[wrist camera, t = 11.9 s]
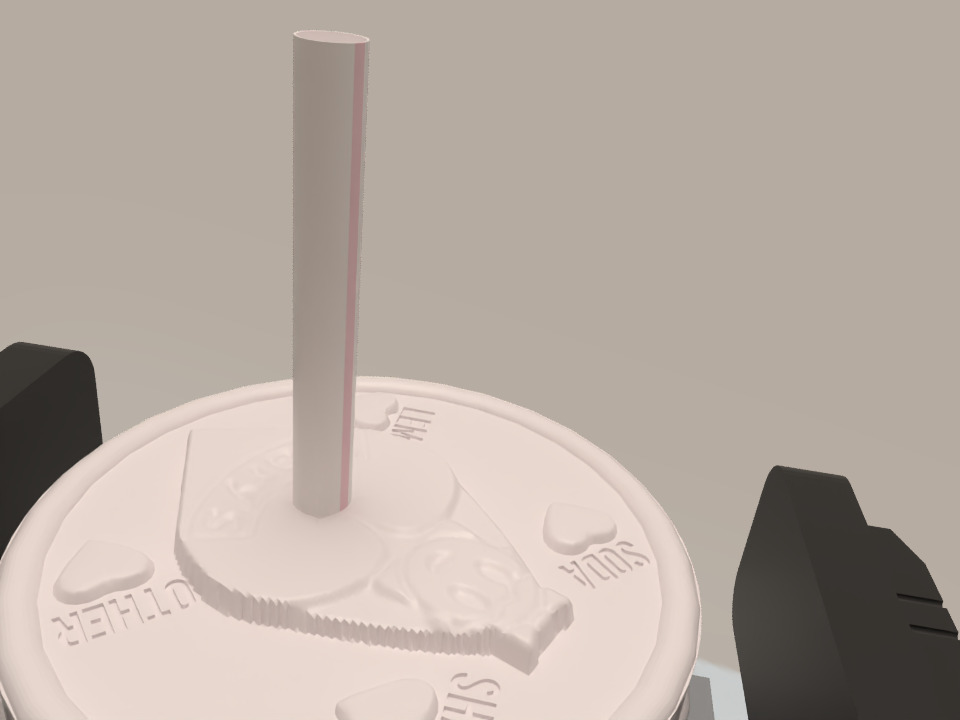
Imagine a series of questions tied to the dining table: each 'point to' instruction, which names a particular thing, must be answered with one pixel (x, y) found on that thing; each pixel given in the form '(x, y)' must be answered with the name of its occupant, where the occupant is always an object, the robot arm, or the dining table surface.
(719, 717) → the dining table surface
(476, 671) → the smoothie
